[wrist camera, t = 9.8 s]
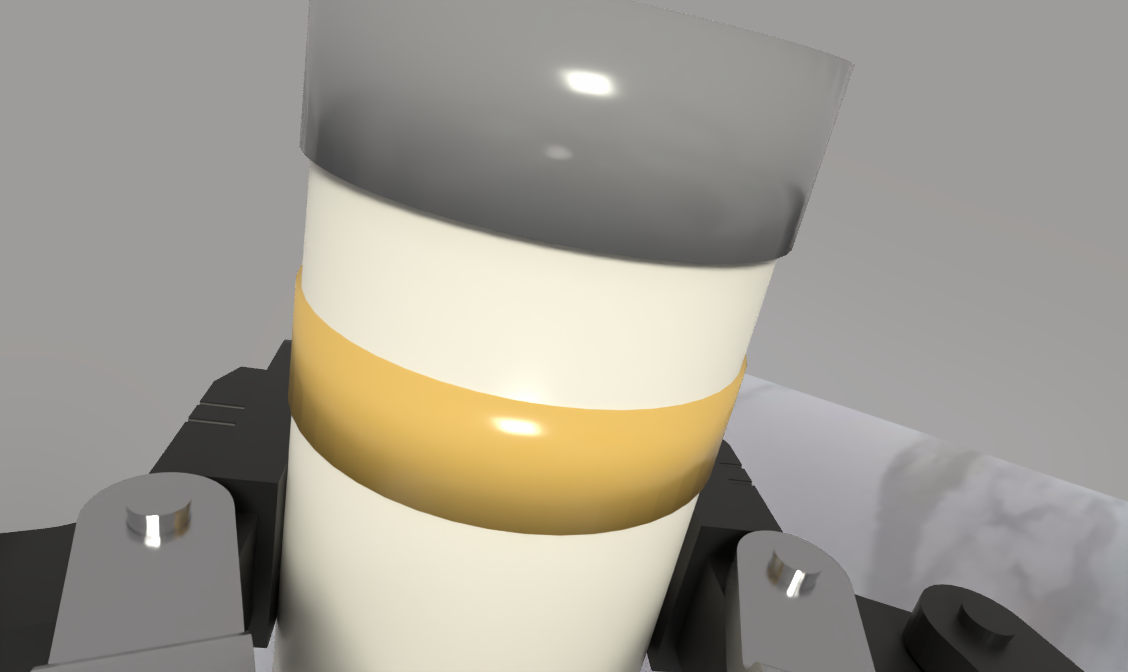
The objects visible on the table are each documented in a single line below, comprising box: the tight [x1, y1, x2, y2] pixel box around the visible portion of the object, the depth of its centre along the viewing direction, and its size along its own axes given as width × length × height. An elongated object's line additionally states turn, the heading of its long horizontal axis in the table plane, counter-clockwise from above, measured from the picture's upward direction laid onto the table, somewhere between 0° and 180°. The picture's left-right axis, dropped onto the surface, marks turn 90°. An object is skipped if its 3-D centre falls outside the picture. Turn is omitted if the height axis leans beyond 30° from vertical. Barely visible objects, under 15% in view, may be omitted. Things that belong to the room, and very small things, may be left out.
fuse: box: [272, 0, 854, 672], centre depth 9 cm, size 5×5×14 cm
